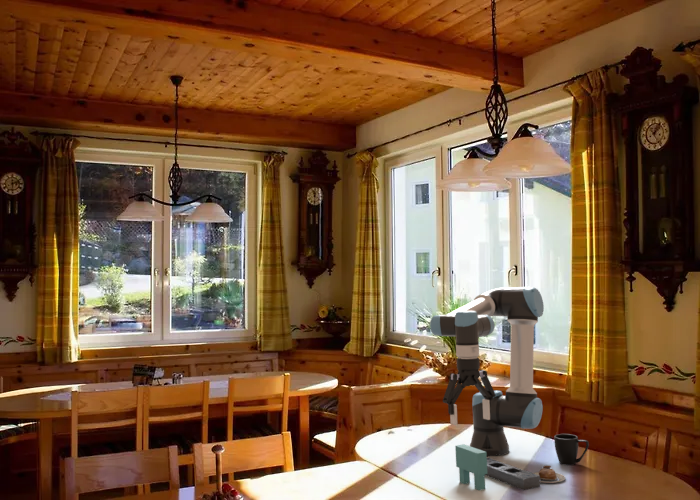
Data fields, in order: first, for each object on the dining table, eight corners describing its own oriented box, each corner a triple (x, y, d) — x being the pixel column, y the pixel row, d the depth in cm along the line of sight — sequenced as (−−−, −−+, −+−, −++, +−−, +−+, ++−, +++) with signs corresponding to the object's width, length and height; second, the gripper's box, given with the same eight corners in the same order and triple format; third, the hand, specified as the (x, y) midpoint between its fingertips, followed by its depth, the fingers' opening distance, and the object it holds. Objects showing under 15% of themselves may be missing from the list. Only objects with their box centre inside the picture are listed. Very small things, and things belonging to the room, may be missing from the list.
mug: (585, 469, 228) (584, 441, 228) (552, 464, 235) (550, 437, 236) (592, 463, 234) (591, 436, 235) (560, 458, 242) (558, 432, 242)
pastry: (560, 487, 210) (559, 473, 210) (524, 482, 217) (523, 468, 217) (569, 477, 220) (568, 463, 221) (534, 473, 227) (533, 459, 227)
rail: (472, 470, 231) (472, 460, 231) (488, 467, 234) (488, 457, 234) (523, 490, 207) (523, 479, 208) (540, 486, 211) (539, 475, 211)
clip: (456, 481, 219) (455, 445, 219) (465, 479, 220) (463, 444, 221) (479, 491, 208) (477, 453, 209) (488, 489, 210) (486, 451, 210)
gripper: (444, 361, 207) (446, 428, 206) (504, 355, 219) (507, 418, 218) (430, 359, 214) (433, 424, 213) (489, 353, 225) (492, 415, 224)
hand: (470, 421), depth 215 cm, fingers open, 13 cm apart
